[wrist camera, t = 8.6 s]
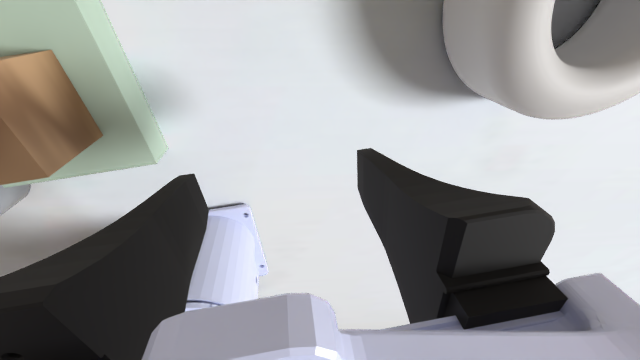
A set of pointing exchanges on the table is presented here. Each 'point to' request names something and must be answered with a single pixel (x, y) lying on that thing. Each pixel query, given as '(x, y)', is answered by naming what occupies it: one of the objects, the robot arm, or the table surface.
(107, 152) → the sage slab
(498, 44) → the donut shape
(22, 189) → the grey cylinder
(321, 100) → the table surface
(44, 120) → the walnut cube
